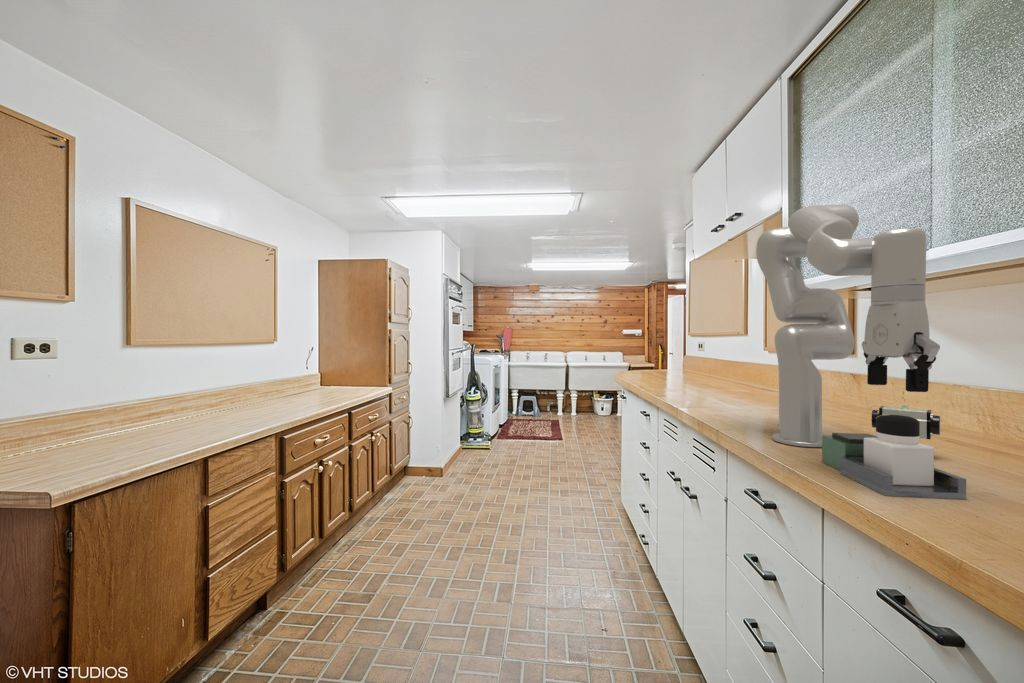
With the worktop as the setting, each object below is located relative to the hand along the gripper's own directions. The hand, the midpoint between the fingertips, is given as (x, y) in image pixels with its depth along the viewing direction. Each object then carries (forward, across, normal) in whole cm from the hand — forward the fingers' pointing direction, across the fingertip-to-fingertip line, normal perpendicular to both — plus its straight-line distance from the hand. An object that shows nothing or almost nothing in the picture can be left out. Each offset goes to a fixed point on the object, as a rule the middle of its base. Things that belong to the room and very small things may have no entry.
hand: (895, 387), depth 79 cm
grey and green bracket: (+18, -3, 0) cm, 19 cm away
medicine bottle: (+17, +1, 0) cm, 17 cm away
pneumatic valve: (+19, -23, +18) cm, 35 cm away
